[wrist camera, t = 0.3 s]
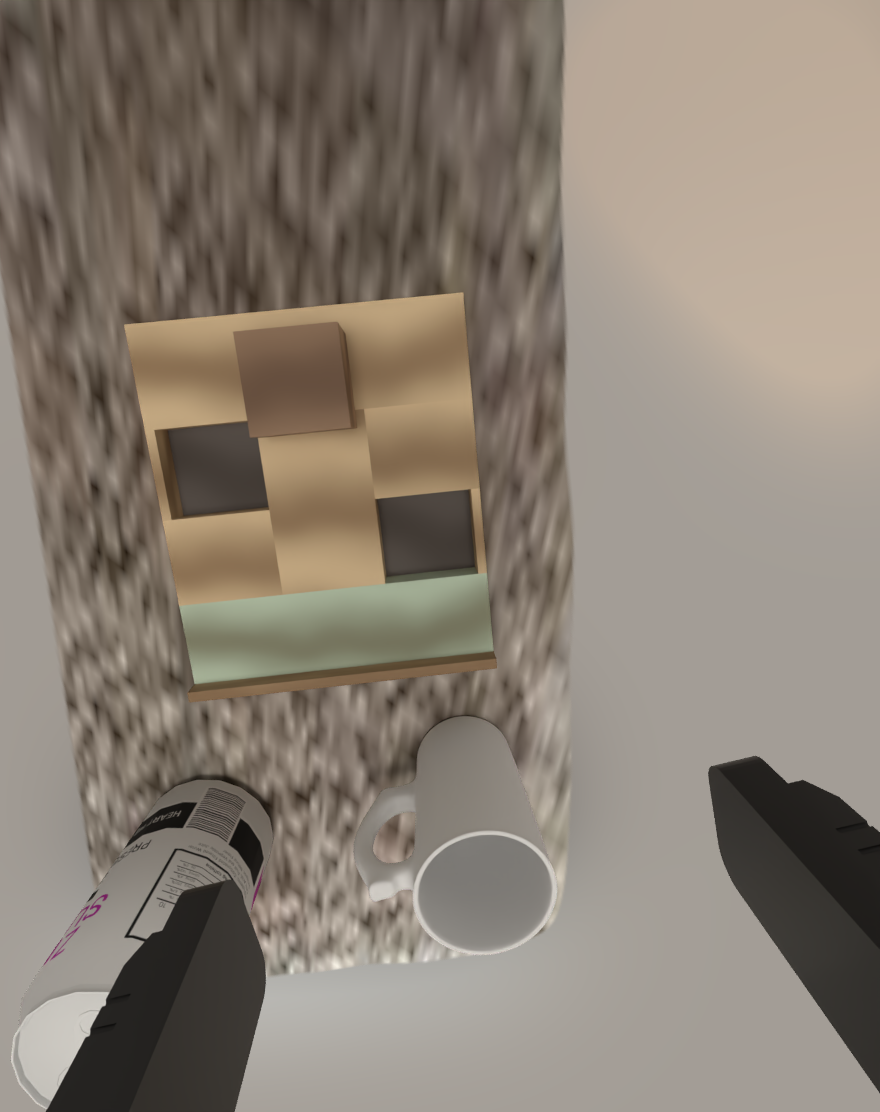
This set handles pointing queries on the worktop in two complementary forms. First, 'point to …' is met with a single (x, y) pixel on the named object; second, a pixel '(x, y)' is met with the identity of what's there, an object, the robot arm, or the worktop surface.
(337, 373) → the block
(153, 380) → the board
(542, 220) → the worktop surface
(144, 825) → the supplement can
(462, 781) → the mug
